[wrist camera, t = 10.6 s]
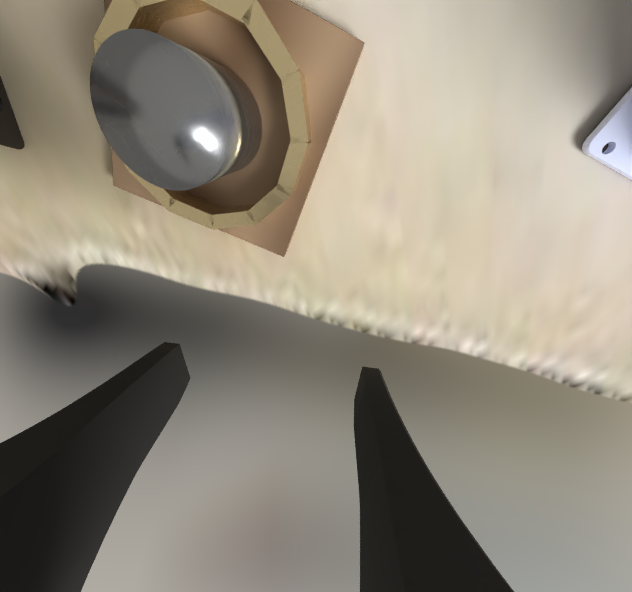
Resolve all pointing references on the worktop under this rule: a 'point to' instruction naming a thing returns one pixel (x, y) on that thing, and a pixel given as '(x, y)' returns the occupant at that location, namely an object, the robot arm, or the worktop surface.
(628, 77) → the worktop surface
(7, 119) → the phone stand
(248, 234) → the ring plate
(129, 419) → the robot arm
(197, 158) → the cylinder
